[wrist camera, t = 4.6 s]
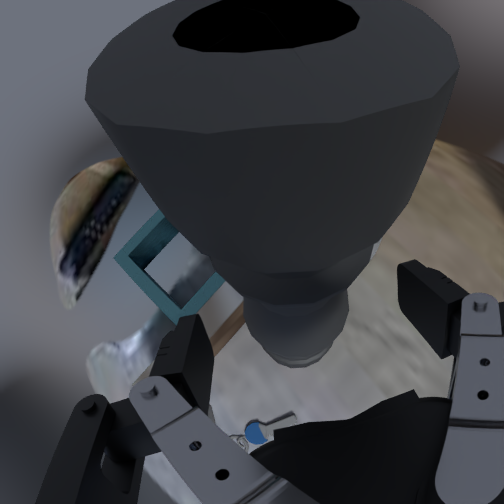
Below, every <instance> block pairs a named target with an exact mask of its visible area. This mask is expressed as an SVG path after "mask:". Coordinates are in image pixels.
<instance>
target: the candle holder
mask: <svg viewBox="0 0 504 504" xmlns="http://www.w3.org/2000/svg"><path fill="white" fill-rule="evenodd" d="M459 68H460V65H459V62H458V58H457V55H456V52H455V49H454V46H453V42H452V39H451V36H450V35H449V34H448V33H447V32H446V31H445V30H444V29H443V28H441V27H440V26H439V25H438V24H437V23H436V22H435V21H434V20H433V19H431V18H430V17H429V16H428V15H427V14H426V13H424V12H423V11H422V10H420V9H418V8H417V7H414V6H413V5H411V4H408V3H406V2H404V1H402V0H175V1H172V2H170V3H168V4H166V5H164V6H162V7H160V8H157V9H155V10H153V11H151V12H150V13H148V14H146V15H144V16H143V17H141V18H140V19H138V20H137V21H136V22H134V23H133V24H131V25H130V26H129V27H127V28H126V29H125V30H123V31H122V32H121V33H119V34H118V35H117V36H116V37H114V38H113V39H112V40H111V41H110V42H109V43H108V44H107V46H106V47H105V48H104V49H103V51H102V52H101V53H100V55H99V56H98V57H97V58H96V60H95V61H94V62H93V64H92V65H91V67H90V68H89V69H88V76H87V84H86V95H85V101H86V102H87V104H88V105H89V107H90V108H91V110H92V112H93V113H94V115H95V116H96V118H97V119H98V121H99V122H100V124H101V125H102V127H103V128H104V130H105V131H106V133H107V134H108V135H109V137H110V139H111V140H112V142H113V143H114V145H115V146H116V148H117V149H118V151H119V152H120V154H121V155H122V157H123V158H124V160H125V161H126V162H127V164H128V165H129V167H130V168H131V170H132V171H133V173H134V174H135V175H136V177H137V178H138V180H139V181H140V183H141V184H142V185H143V187H144V188H145V190H146V191H147V193H148V194H149V195H150V197H151V198H152V200H153V201H154V202H155V204H156V205H157V206H158V208H159V209H160V211H161V212H162V213H163V215H164V216H165V218H166V219H167V220H168V221H169V222H170V223H171V224H172V225H173V226H174V227H175V228H176V229H177V230H178V231H179V232H180V233H181V234H182V235H183V236H184V237H185V238H186V239H187V240H188V241H189V242H190V243H191V244H192V245H193V246H194V247H195V248H196V249H197V250H198V251H199V252H201V253H202V254H205V255H208V256H210V259H211V261H212V264H213V267H214V269H215V271H216V272H217V273H218V274H219V275H220V276H221V277H222V278H223V279H224V280H225V281H226V282H227V283H228V284H229V285H231V286H232V287H233V288H234V289H235V290H236V291H237V292H238V293H239V294H240V295H241V296H243V317H244V319H245V322H246V324H247V326H248V329H249V331H250V334H251V335H252V336H253V337H254V338H255V339H256V340H257V341H258V342H259V343H260V344H261V345H262V347H263V349H264V350H265V351H266V352H267V353H268V354H269V355H270V356H271V357H272V358H273V359H274V360H275V361H276V362H277V363H279V364H281V365H284V366H287V367H290V368H303V367H307V366H310V365H312V364H314V363H316V362H318V361H319V360H320V359H321V358H322V357H323V356H324V355H325V354H326V353H327V351H328V350H329V349H330V348H331V346H332V344H333V341H334V340H335V339H336V338H337V336H338V335H339V334H340V333H341V332H342V330H343V327H344V324H345V321H346V318H347V315H348V312H349V304H348V294H347V288H348V287H349V286H350V285H351V284H352V282H353V281H354V280H355V279H356V278H357V276H358V275H359V274H360V273H361V272H362V270H363V269H364V268H365V267H366V266H367V264H368V263H369V261H370V258H371V254H372V250H373V246H374V244H376V243H378V242H379V240H380V239H381V238H382V237H383V235H384V234H385V233H386V232H387V230H388V229H389V228H390V226H391V225H392V224H393V223H394V221H395V220H396V219H397V217H398V216H399V215H400V213H401V212H402V211H403V209H404V208H405V207H406V205H407V204H408V202H409V200H410V198H411V196H412V193H413V191H414V189H415V187H416V184H417V182H418V180H419V178H420V175H421V173H422V171H423V168H424V166H425V164H426V161H427V159H428V156H429V154H430V151H431V149H432V146H433V144H434V141H435V139H436V136H437V133H438V131H439V128H440V125H441V123H442V120H443V117H444V114H445V112H446V109H447V105H448V103H449V100H450V97H451V94H452V90H453V88H454V84H455V81H456V78H457V74H458V71H459Z"/></svg>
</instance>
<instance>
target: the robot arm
mask: <svg viewBox="0 0 504 504" xmlns="http://www.w3.org/2000/svg"><path fill="white" fill-rule="evenodd" d="M397 280H398V302H399V306H400V309H401V311H402V313H403V314H404V315H405V316H406V317H407V319H408V320H409V321H410V322H411V323H412V324H413V326H414V327H415V328H416V329H417V330H418V331H419V333H420V334H421V335H422V336H423V337H424V339H425V340H426V341H427V342H428V343H429V345H430V346H431V347H432V348H433V350H434V351H435V352H436V353H437V355H438V356H439V357H440V358H441V359H444V358H446V357H448V356H450V355H453V356H454V361H453V367H452V373H451V379H450V385H449V391H448V396H447V398H442V397H424V398H419V397H418V396H417V394H416V392H415V391H414V389H413V390H411V391H408V392H406V393H403V394H400V395H398V396H395V397H392V398H389V399H387V400H384V401H381V402H380V403H378V404H376V405H374V406H373V407H371V408H369V409H367V410H366V411H364V412H362V413H360V414H358V415H357V416H355V417H353V418H351V419H347V420H337V421H322V422H308V423H303V424H299V425H294V426H290V427H285V428H280V429H275V430H273V433H274V440H273V441H270V442H268V443H266V444H264V445H262V446H260V447H259V448H257V449H255V450H254V451H252V452H251V453H250V454H248V453H247V452H246V451H245V450H243V449H242V448H241V447H240V446H239V445H238V444H237V443H235V442H234V441H233V440H232V439H231V438H230V437H229V436H228V435H227V434H226V433H224V432H223V431H222V430H221V429H220V428H219V427H218V426H217V425H216V424H215V423H214V422H213V421H212V420H211V419H210V418H209V417H208V410H209V401H210V392H211V383H212V374H213V366H214V352H213V348H212V345H211V342H210V340H209V337H208V334H207V332H206V329H205V327H204V324H203V321H202V319H201V317H200V315H199V314H193V315H188V316H183V317H180V318H179V320H178V323H177V326H176V329H175V331H170V332H169V333H168V334H167V335H166V336H165V337H164V338H163V340H162V342H161V345H160V347H159V349H160V350H158V353H157V357H156V358H155V361H154V364H153V366H152V369H151V372H150V375H149V377H147V378H145V379H143V380H141V381H139V382H138V383H136V384H135V385H134V386H133V387H132V389H131V390H130V393H129V398H127V399H124V400H121V401H118V402H114V403H111V404H110V403H109V402H108V400H107V399H106V398H105V396H103V395H100V394H94V395H90V396H87V397H86V398H83V399H82V400H81V401H79V402H78V403H77V405H76V406H75V408H74V410H73V412H72V414H71V416H70V418H69V421H68V423H67V425H66V427H65V430H64V432H63V434H62V436H61V439H60V441H59V443H58V446H57V448H56V450H55V453H54V456H53V458H52V460H51V463H50V465H49V468H48V470H47V473H46V475H45V478H44V481H43V483H42V486H41V489H40V492H39V494H38V497H37V500H36V503H35V504H137V502H138V495H139V489H140V483H141V477H142V471H143V465H144V460H145V456H148V455H151V454H155V453H158V452H161V451H162V452H163V454H164V455H165V456H166V458H167V459H168V461H169V462H170V463H171V465H172V466H173V467H174V469H175V470H176V471H177V473H178V474H179V475H180V477H181V478H182V479H183V480H184V482H185V483H186V484H187V486H188V487H189V488H190V489H191V490H192V492H193V493H194V494H195V495H196V496H197V498H198V499H199V500H200V501H201V502H202V504H504V302H500V303H498V301H497V300H496V299H495V298H494V297H493V296H491V295H489V294H486V293H473V294H469V293H468V292H467V291H465V290H464V289H463V288H462V287H460V286H459V285H458V284H456V283H455V282H453V281H452V280H451V279H450V278H448V277H447V276H446V275H444V274H443V273H442V272H440V271H438V270H435V269H432V268H429V267H428V268H427V267H425V266H424V265H423V264H421V263H420V262H419V261H417V260H415V259H414V260H411V261H408V262H404V263H401V264H399V265H398V267H397ZM103 452H104V453H105V458H104V461H103V465H102V468H101V465H100V464H101V459H102V455H103Z"/></svg>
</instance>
